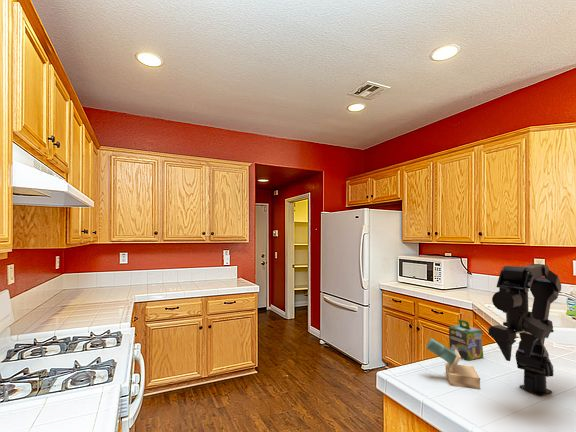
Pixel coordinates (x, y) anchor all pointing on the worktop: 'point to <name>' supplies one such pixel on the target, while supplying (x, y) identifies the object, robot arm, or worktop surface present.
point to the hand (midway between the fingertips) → (518, 358)
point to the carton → (463, 376)
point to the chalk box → (466, 340)
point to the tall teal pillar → (444, 353)
